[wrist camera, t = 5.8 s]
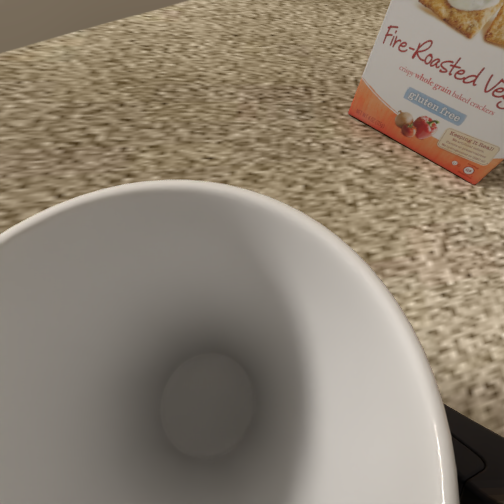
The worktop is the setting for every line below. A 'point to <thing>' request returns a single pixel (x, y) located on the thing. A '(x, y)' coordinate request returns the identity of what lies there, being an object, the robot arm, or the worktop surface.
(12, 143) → the worktop surface
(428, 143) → the cracker box
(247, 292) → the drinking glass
